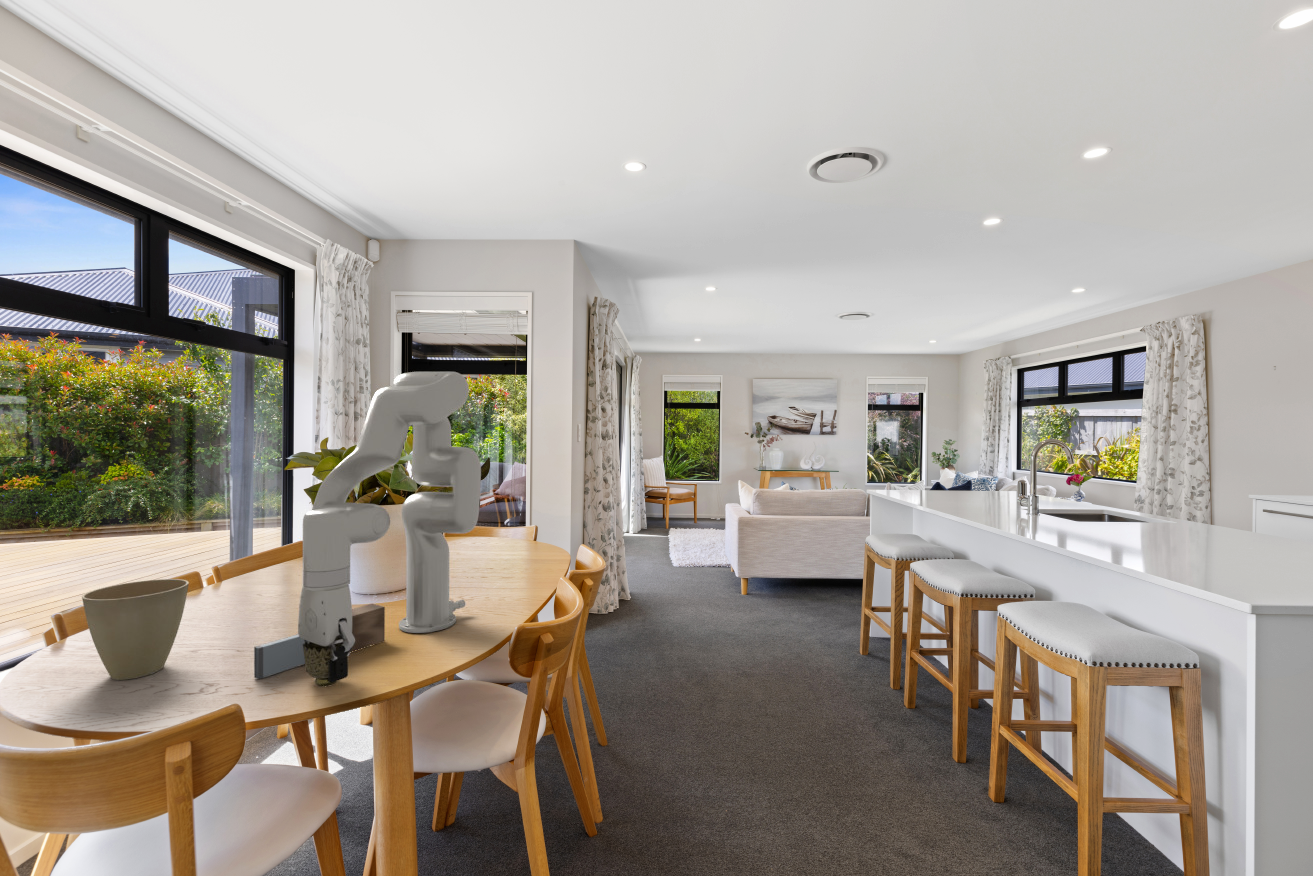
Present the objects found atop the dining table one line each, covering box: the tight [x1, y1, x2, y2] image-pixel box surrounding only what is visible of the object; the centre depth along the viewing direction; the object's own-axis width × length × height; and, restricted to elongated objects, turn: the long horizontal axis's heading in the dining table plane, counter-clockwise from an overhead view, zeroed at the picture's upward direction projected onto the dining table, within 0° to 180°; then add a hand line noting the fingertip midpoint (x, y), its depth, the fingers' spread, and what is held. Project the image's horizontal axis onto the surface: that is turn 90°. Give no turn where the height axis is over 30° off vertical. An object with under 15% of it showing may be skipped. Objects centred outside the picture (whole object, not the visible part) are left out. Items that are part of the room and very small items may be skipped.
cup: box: [303, 637, 342, 688], centre depth 102 cm, size 8×7×8 cm
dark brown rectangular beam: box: [350, 603, 386, 653], centre depth 118 cm, size 14×5×8 cm, turn 149°
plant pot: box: [81, 578, 190, 681], centre depth 107 cm, size 15×15×16 cm
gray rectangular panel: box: [253, 633, 305, 680], centre depth 110 cm, size 14×2×6 cm, turn 149°
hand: (326, 674), depth 102 cm, fingers closed on cup, 6 cm apart
